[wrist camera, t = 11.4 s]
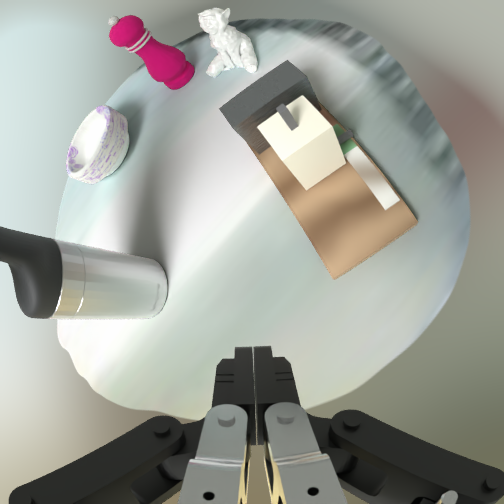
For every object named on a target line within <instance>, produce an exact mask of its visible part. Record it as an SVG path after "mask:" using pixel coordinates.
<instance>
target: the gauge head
mask: <svg viewBox="0 0 504 504" xmlns="http://www.w3.org/2000/svg"><path fill="white" fill-rule="evenodd" d="M276 110H277V111H278V112H277V113H276V114H274V115H273V116H271V117H270V118H269V119H267V120H266V121H264V122H263V123H262V124H260V125H259V126H258V127H257V128H258V129H259V130H260V132H261V133H262V134H263V136H264V137H265V138H266V140H267V141H268V142H269V144H270V145H271V146H272V148H273V149H274V151H275V152H276V153H277V155H278V156H279V157H280V159H281V160H282V161H283V163H284V164H285V165H286V166H287V167H288V169H289V170H290V171H291V172H292V174H293V175H294V176H295V177H296V178H297V180H298V181H299V182H300V183H301V185H302V186H303V187H304V188H305V190H306V191H307V190H308V189H309V188H311V187H312V186H314V185H315V184H317V183H318V182H320V181H321V180H322V179H324V178H325V177H327V176H328V175H330V174H331V173H333V172H334V171H336V170H337V169H338V168H340V167H341V166H343V165H344V164H346V161H345V159H344V156H343V153H342V150H341V148H340V145H341V144H342V143H344V142H345V141H347V140H348V139H350V138H351V137H353V136H354V135H353V132H352V131H351V130H350V129H349V130H347V131H346V132H344V133H343V134H341V135H340V136H338V137H336V134H335V132H334V129H333V127H332V125H331V124H330V123H329V122H328V121H327V120H326V119H325V118H324V117H323V116H322V115H321V114H320V113H319V111H318V110H317V109H316V108H315V107H314V106H313V105H312V104H311V103H310V102H309V101H308V100H307V99H306V98H305V97H304V96H303V95H302V96H300V97H299V98H297V99H296V100H294V101H293V102H291V103H290V104H289V105H287V106H285V105H284V104H281V105H280V106H279V107H277V108H276Z"/></svg>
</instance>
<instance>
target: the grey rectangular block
mask: <svg viewBox="0 0 504 504" xmlns="http://www.w3.org/2000/svg"><path fill="white" fill-rule="evenodd" d="M302 95H303V96H304V97H305V98H306V99H307V100H308V101H309V102H310V103H311V104H312V105H313V106H314V107H315V108H316V109H317V110H318V111H321V110H322V109H321V106H320V104H319V102H318V100H317V98H316V95H315V93H314V91H313V89H312V87H311V85H310V83H309V80H308V78H307V76H306V75H304V74H303V73H302V72H301V71H300V70H299V69H297V68H296V67H295V66H294V65H293V64H292V63H290V62H289V61H288V60H287V61H285V62H284V63H282V64H280V65H279V66H277V67H276V68H274V69H273V70H271V71H270V72H268V73H267V74H266V75H264V76H263V77H261V78H260V79H258V80H257V81H255V82H254V83H253V84H251V85H250V86H248V87H247V88H246V89H244V90H243V91H242V92H240V93H239V94H238V95H236V96H235V97H234V98H232V99H231V100H230V101H228V102H227V103H226V104H224V105H223V106H222V107H221V108H219V109H220V111H221V112H222V113H223V115H224V116H225V118H226V119H227V121H228V122H229V123H230V125H231V126H232V128H233V129H234V130H235V131H236V132H237V133H238V134H239V135H240V136H241V137H242V138H243V139H244V140H245V141H246V142H247V143H248V144H249V145H250V146H251V147H252V148H253V149H254V150H255V151H256V152H257V153H258V154H259V155H260V154H261V153H262V152H264V151H265V150H267V149H268V148H269V147H271V145H270V144H269V142H268V141H267V140H266V138H265V137H264V136H263V134H262V133H261V132H260V130H259V129H258V128H257V127H258V126H259V125H260V124H262V123H263V122H264V121H266V120H267V119H269V118H270V117H271V116H273V115H274V114H276V113H277V112H278V111H277V110H276V108H277V107H279V106H280V105H281V104H284V105H285V106H287V105H289V104H290V103H291V102H293V101H294V100H296V99H297V98H299V97H300V96H302Z"/></svg>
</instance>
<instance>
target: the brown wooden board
mask: <svg viewBox="0 0 504 504" xmlns="http://www.w3.org/2000/svg"><path fill="white" fill-rule="evenodd" d="M318 102H319V101H318ZM319 104H320V106H321V109H322V110H321V111H319V113H320V114H321V115H322V116H323V117H324V118H325V119H326V120H327V121H328V122H329V123H330V124H331V125H332V127H333V129H334V132H335V134H336V137H338V136H340V135H341V134H343V133H344V132H346V130H345V129H344V127H343V126H342V125H341V124H340V123H339V122H338V121H337V120H336V119H335V118H334V117H333V116H332V115H331V114H330V113H329V112H328V110H327V109H326V108H325V107H324V106H323V105H322V104H321V103H320V102H319ZM247 144H248V143H247ZM248 145H249V144H248ZM249 147H250V148H251V150H252V151H253V153H254V154H255V156H256V157H257V159H258V160H259V162H260V163H261V165H262V166H263V168H264V169H265V171H266V172H267V174H268V175H269V177H270V178H271V180H272V181H273V183H274V184H275V186H276V187H277V189H278V190H279V192H280V193H281V195H282V196H283V198H284V200H285V201H286V203H287V204H288V206H289V207H290V209H291V211H292V212H293V214H294V215H295V217H296V219H297V220H298V222H299V223H300V225H301V227H302V228H303V230H304V231H305V233H306V235H307V236H308V238H309V240H310V241H311V243H312V244H313V246H314V248H315V249H316V251H317V253H318V254H319V256H320V258H321V259H322V261H323V263H324V265H325V266H326V268H327V270H328V271H329V273H330V275H331V276H332V278H333V279H334V280H335V279H337V278H339V277H340V276H342V275H343V274H345V273H346V272H348V271H349V270H351V269H353V268H354V267H356V266H357V265H359V264H360V263H362V262H363V261H365V260H366V259H368V258H369V257H371V256H372V255H374V254H375V253H377V252H378V251H380V250H381V249H383V248H384V247H386V246H387V245H389V244H390V243H391V242H393V241H394V240H396V239H397V238H399V237H400V236H402V235H403V234H404V233H406V232H407V231H409V230H410V229H411V228H413V227H414V226H416V225H417V223H418V221H417V220H416V218H415V217H414V215H413V214H412V212H411V211H410V209H409V208H408V207H407V205H406V204H405V202H404V201H403V200H402V198H401V197H400V196H399V194H398V193H397V191H396V190H395V189H394V187H393V186H392V185H391V184H390V182H389V181H388V180H387V178H386V177H385V176H384V174H383V173H382V172H381V171H380V169H379V168H378V167H377V166H376V164H375V163H374V162H373V161H372V160H371V158H370V157H369V156H368V155H367V154H366V152H365V151H364V150H363V149H362V148H361V147H360V145H359V144H358V143H357V142H356V141H355V140H354V139H353V137H351V138H350V139H348V140H347V141H345V142H344V143H342V144H341V145H340V148H341V150H342V153H343V156H344V159H345V161H346V164H344V165H343V166H341V167H340V168H338V169H337V170H336V171H334V172H333V173H331V174H330V175H328V176H327V177H325V178H324V179H322V180H321V181H320V182H318V183H317V184H315V185H314V186H312V187H311V188H309V189H308V190H307V191H306V190H305V188H304V187H303V186H302V185H301V183H300V182H299V181H298V180H297V178H296V177H295V176H294V175H293V174H292V172H291V171H290V170H289V169H288V167H287V166H286V165H285V164H284V163H283V161H282V160H281V159H280V157H279V156H278V155H277V153H276V152H275V151H274V149H273V148H272V146H271V147H269V148H268V149H267V150H265V151H264V152H262V153H261V154H260V155H259V154H258V153H257V152H256V151H255V150H254V149H253V148H252V147H251V146H250V145H249Z"/></svg>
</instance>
